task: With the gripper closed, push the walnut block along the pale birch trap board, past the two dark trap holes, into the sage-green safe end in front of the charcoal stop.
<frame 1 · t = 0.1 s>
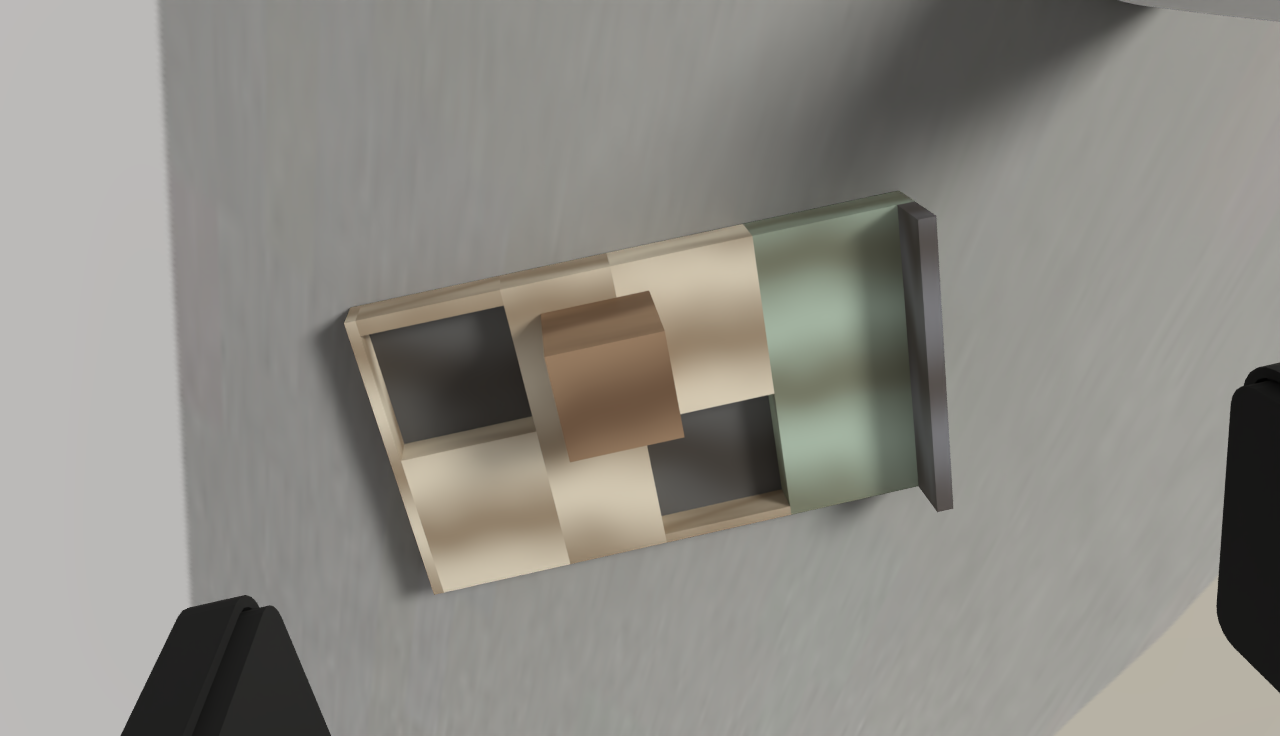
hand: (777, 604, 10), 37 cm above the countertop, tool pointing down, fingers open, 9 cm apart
walnut block: (605, 351, 46), point 2 cm above the countertop, touching trap board
trap board: (655, 391, 49), on the countertop
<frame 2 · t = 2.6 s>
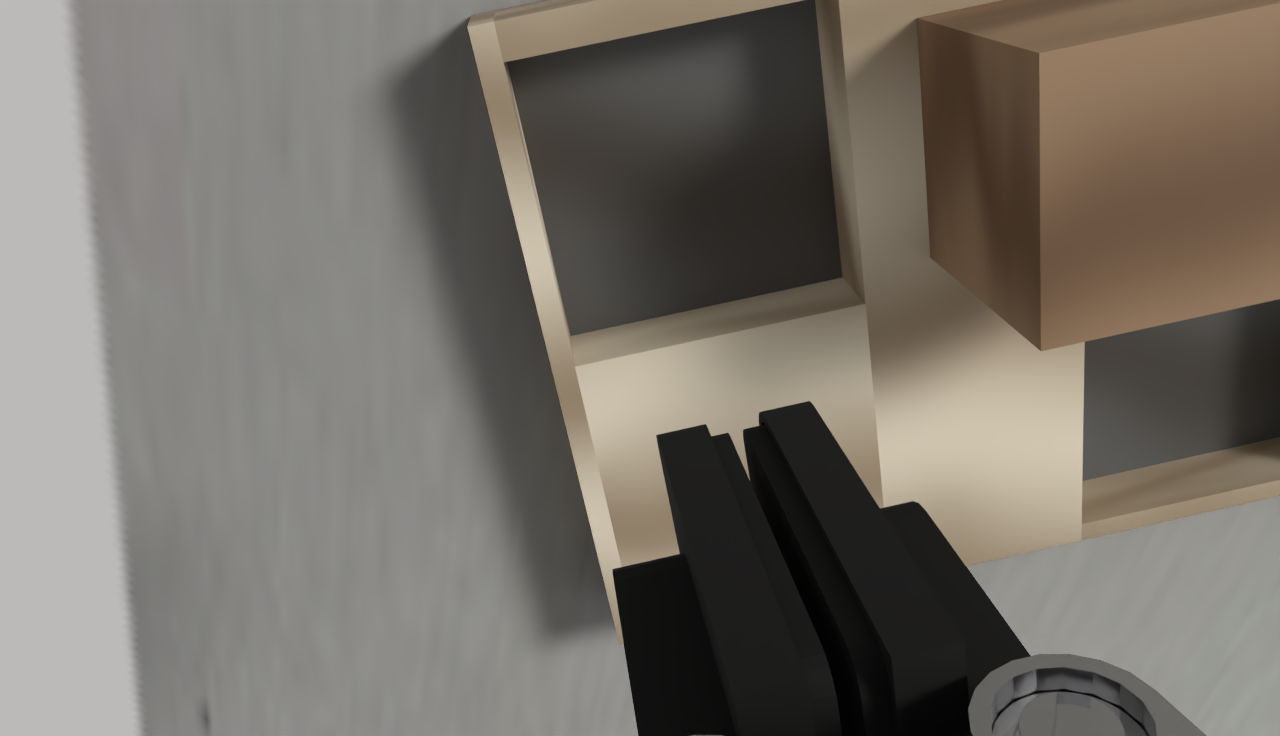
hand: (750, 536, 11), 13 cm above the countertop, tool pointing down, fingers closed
walnut block: (1041, 119, 21), point 2 cm above the countertop, touching trap board
trap board: (1082, 230, 24), on the countertop
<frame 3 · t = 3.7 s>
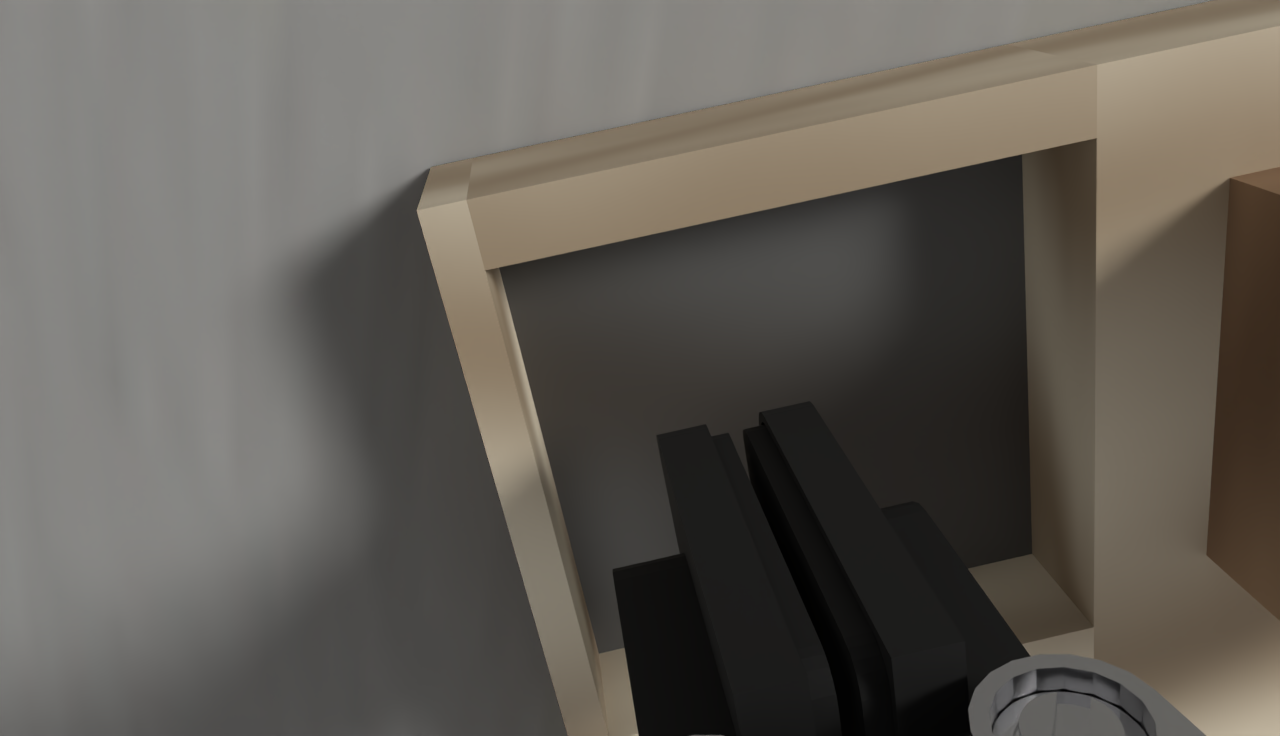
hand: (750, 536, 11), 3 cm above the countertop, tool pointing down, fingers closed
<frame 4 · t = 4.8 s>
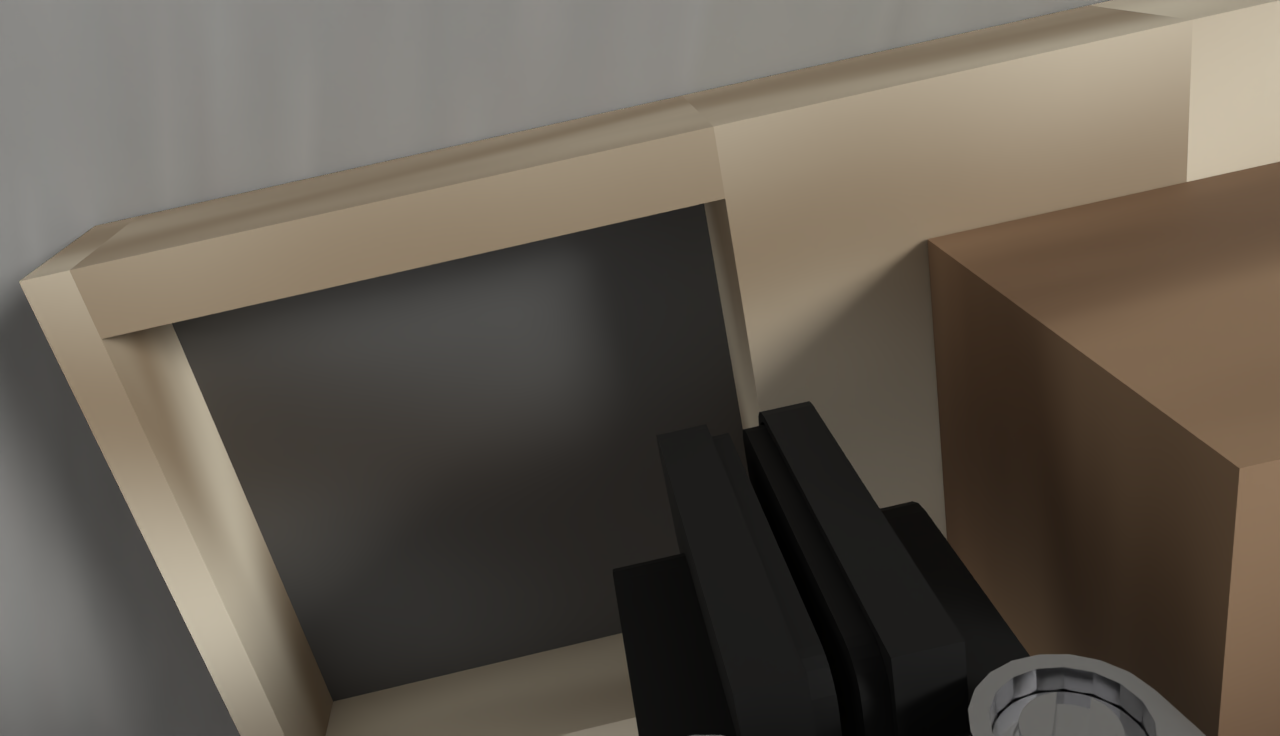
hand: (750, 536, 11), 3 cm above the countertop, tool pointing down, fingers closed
walnut block: (1143, 393, 12), point 2 cm above the countertop, touching gripper
trap board: (1154, 506, 15), on the countertop
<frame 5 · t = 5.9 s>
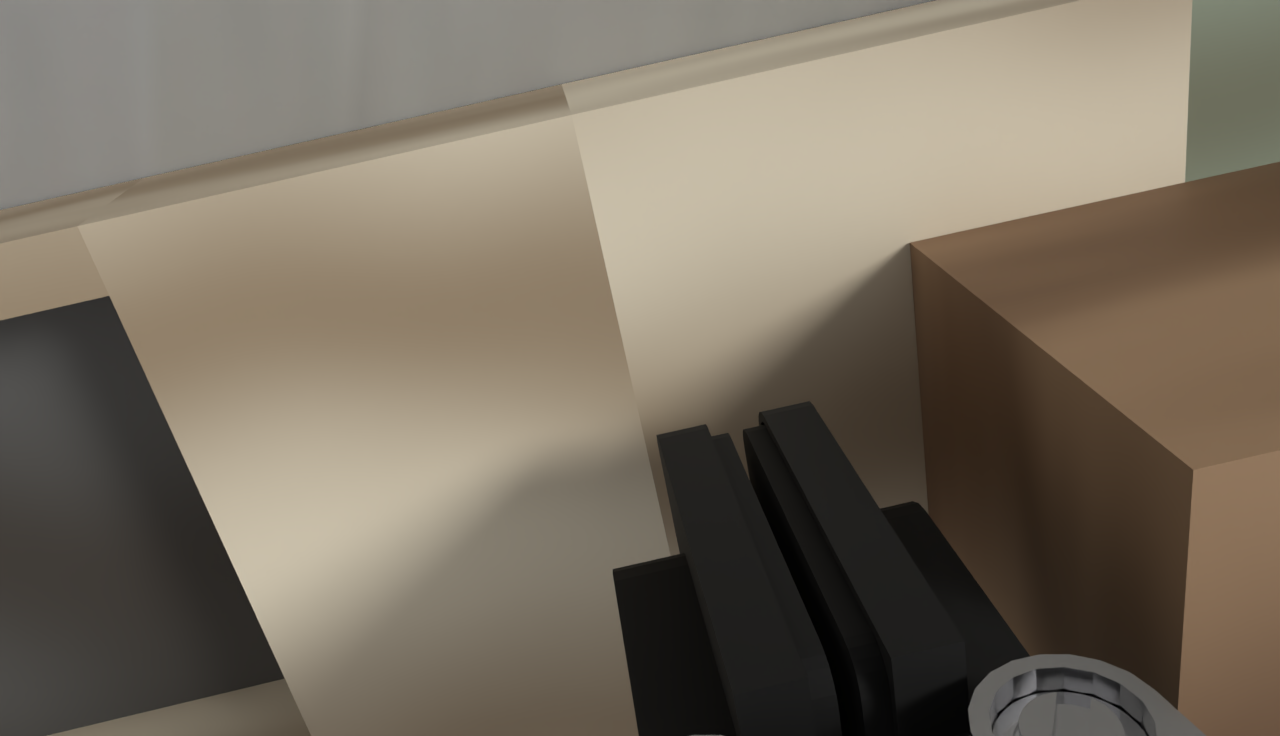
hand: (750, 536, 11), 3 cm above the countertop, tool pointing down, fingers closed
walnut block: (1121, 392, 12), point 2 cm above the countertop, touching gripper
trap board: (739, 570, 15), on the countertop
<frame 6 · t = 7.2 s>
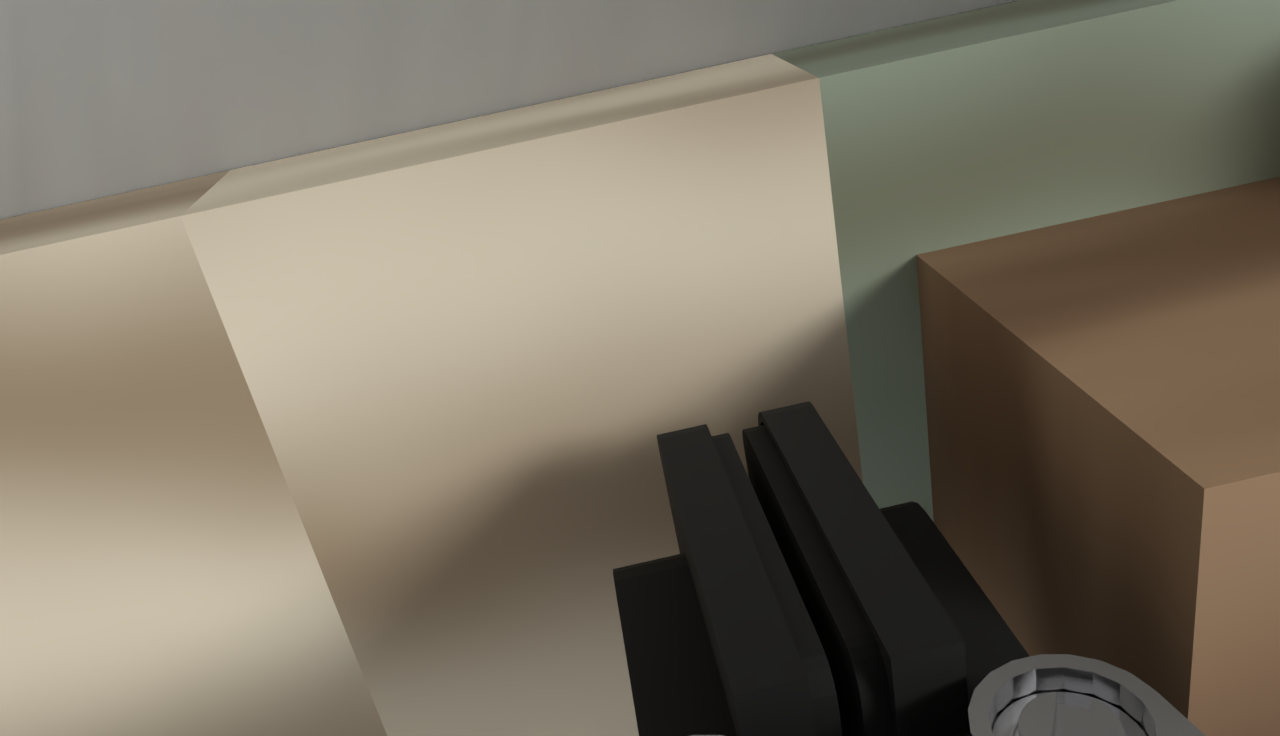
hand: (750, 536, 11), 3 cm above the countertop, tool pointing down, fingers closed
walnut block: (1127, 404, 12), point 2 cm above the countertop, touching gripper, trap board
trap board: (477, 645, 15), on the countertop
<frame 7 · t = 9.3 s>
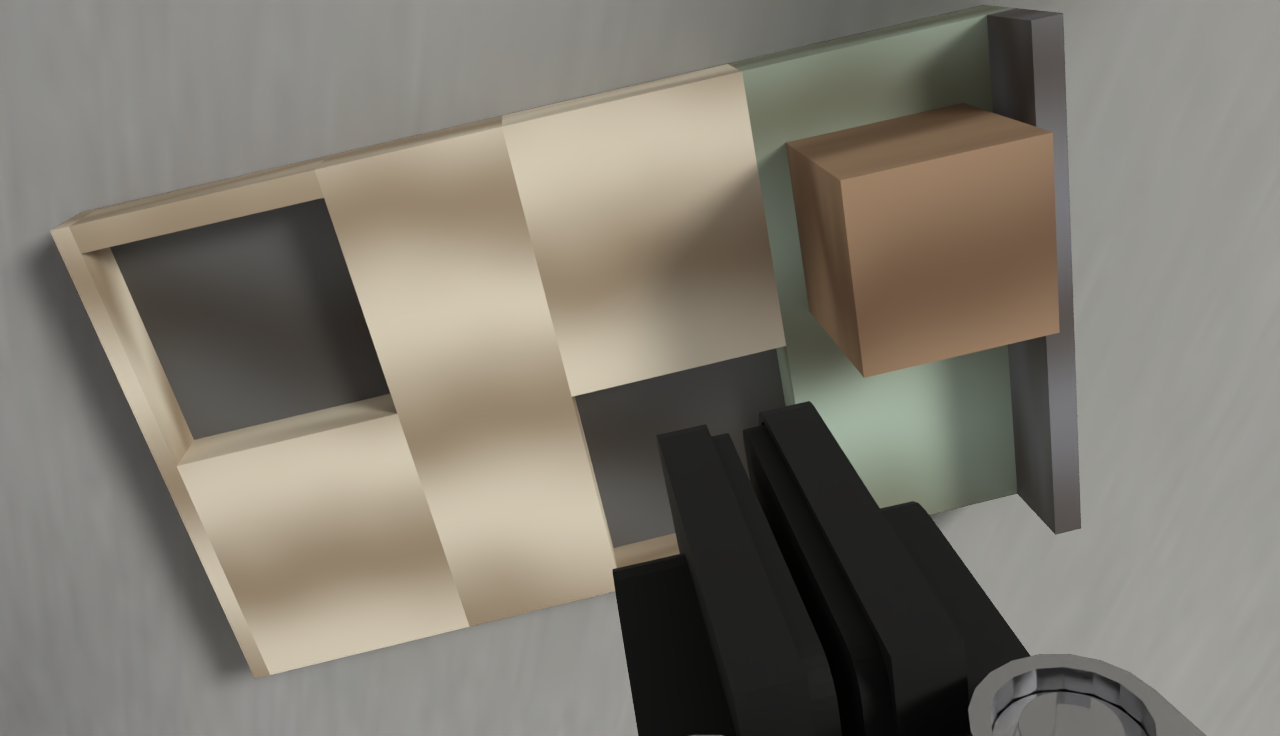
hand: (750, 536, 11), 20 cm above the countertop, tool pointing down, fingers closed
walnut block: (883, 210, 28), point 2 cm above the countertop, touching trap board
trap board: (596, 349, 31), on the countertop
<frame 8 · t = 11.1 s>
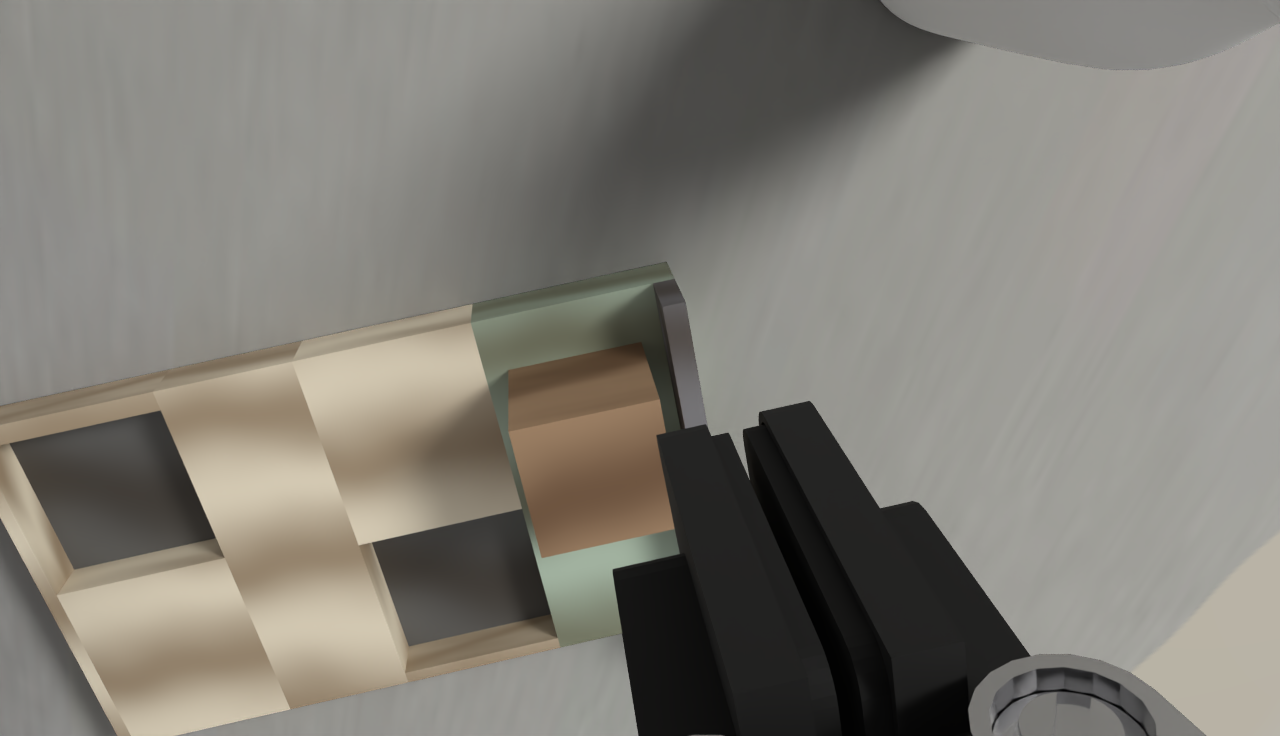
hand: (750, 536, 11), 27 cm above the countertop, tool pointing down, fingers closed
walnut block: (588, 415, 38), point 2 cm above the countertop, touching trap board
trap board: (385, 502, 41), on the countertop
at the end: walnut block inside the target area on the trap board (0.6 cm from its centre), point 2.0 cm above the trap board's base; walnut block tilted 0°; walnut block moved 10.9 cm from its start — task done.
